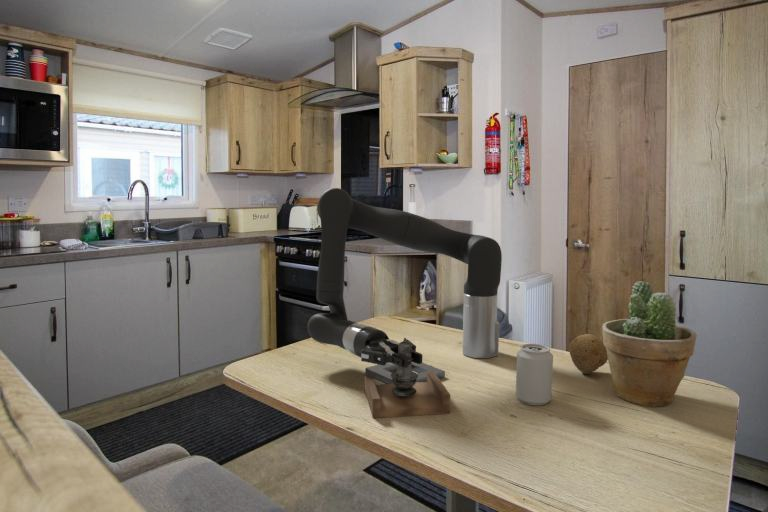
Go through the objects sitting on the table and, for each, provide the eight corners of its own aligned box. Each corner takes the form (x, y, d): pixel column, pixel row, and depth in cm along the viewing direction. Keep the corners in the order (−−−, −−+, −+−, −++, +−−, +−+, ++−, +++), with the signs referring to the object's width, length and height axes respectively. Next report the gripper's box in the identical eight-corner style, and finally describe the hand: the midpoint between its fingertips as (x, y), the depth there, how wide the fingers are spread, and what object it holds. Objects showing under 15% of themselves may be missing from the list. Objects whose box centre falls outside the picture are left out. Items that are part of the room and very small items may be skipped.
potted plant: (712, 409, 107) (722, 292, 104) (636, 418, 103) (644, 296, 100) (648, 379, 125) (655, 278, 122) (581, 385, 121) (586, 281, 118)
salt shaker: (409, 398, 107) (410, 343, 105) (385, 392, 110) (386, 338, 108) (422, 389, 112) (423, 336, 110) (399, 384, 115) (400, 332, 113)
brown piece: (433, 387, 119) (433, 371, 119) (449, 413, 106) (450, 394, 105) (364, 391, 117) (364, 374, 116) (372, 418, 103) (372, 398, 103)
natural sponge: (587, 365, 135) (589, 328, 134) (615, 376, 127) (617, 337, 126) (561, 369, 132) (562, 332, 130) (587, 381, 123) (589, 341, 122)
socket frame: (407, 362, 137) (407, 356, 137) (444, 377, 126) (445, 371, 126) (365, 373, 128) (365, 367, 128) (401, 390, 118) (401, 384, 117)
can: (551, 395, 115) (553, 343, 113) (550, 409, 108) (553, 353, 106) (517, 391, 117) (518, 340, 116) (514, 404, 110) (515, 350, 109)
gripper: (340, 331, 116) (388, 350, 103) (388, 321, 125) (438, 338, 112) (340, 363, 117) (387, 386, 104) (388, 351, 126) (437, 371, 113)
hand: (413, 361), depth 108 cm, fingers closed on salt shaker, 3 cm apart
